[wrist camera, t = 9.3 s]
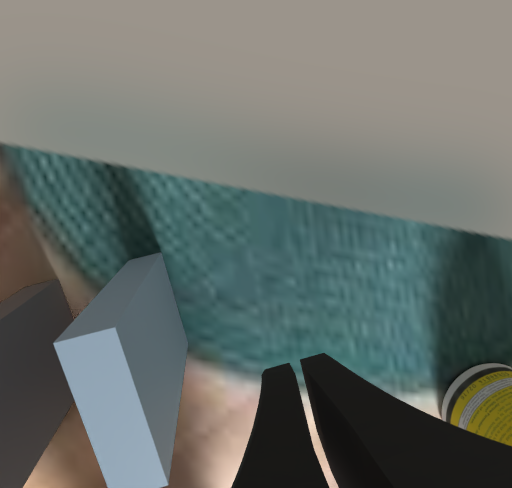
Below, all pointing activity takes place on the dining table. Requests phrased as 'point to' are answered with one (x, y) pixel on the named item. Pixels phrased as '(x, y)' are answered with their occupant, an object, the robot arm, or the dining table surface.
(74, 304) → the dining table surface
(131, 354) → the slate domino
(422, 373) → the dining table surface
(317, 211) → the dining table surface
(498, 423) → the supplement bottle
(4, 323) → the domino
